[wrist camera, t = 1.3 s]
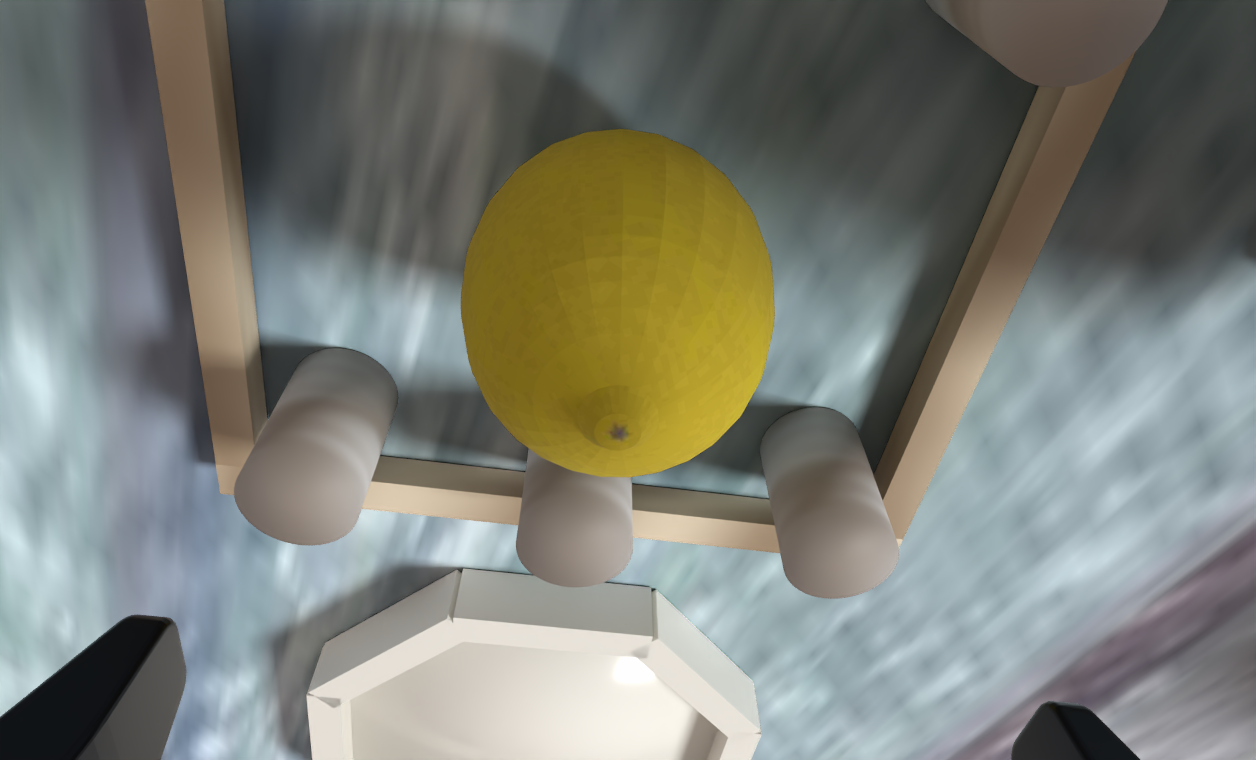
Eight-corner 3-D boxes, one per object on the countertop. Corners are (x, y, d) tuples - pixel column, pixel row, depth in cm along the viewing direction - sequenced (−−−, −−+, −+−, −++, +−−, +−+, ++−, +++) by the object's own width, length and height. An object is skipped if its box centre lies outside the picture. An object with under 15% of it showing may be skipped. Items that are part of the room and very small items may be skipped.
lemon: (783, 254, 20) (864, 496, 13) (568, 347, 21) (546, 608, 15) (680, 24, 17) (718, 189, 10) (440, 150, 18) (339, 365, 12)
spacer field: (1225, -213, 15) (1398, -207, 11) (882, 538, 25) (921, 655, 22) (109, -440, 13) (-63, -509, 10) (234, 467, 23) (171, 582, 20)
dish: (787, 600, 26) (797, 650, 25) (695, 835, 34) (698, 882, 33) (316, 553, 25) (297, 602, 24) (334, 808, 33) (321, 857, 32)
